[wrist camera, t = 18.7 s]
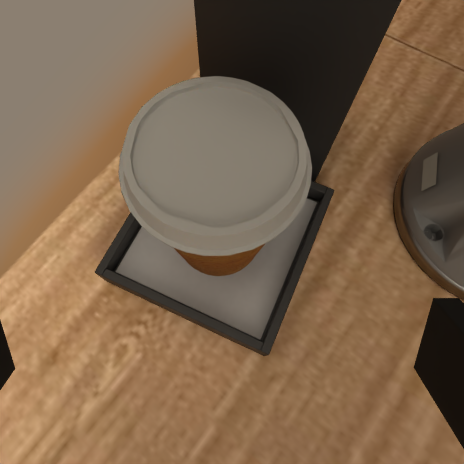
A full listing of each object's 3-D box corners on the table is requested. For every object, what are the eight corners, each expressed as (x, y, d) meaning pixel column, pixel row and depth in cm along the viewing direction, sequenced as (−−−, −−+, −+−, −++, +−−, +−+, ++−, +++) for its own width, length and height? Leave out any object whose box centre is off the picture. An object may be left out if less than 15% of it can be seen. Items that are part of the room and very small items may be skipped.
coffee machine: (358, 122, 34) (685, -481, 10) (264, 356, 27) (630, 230, 3) (227, 73, 36) (232, -544, 12) (105, 280, 28) (-557, -216, 4)
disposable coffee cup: (131, 232, 28) (69, 143, 17) (223, 159, 31) (222, 39, 20) (214, 326, 26) (206, 293, 15) (307, 239, 28) (360, 155, 17)
